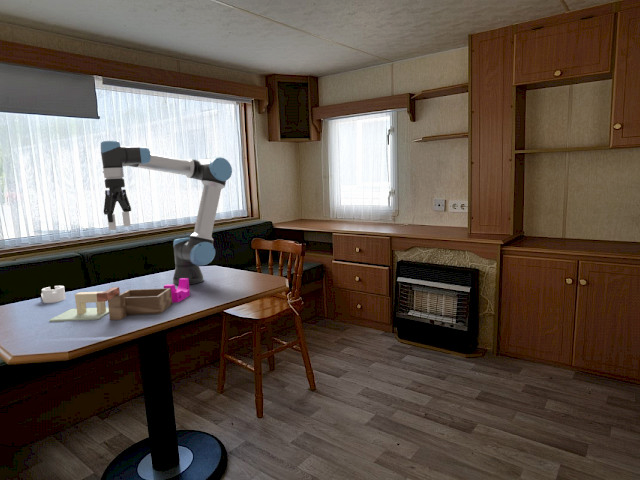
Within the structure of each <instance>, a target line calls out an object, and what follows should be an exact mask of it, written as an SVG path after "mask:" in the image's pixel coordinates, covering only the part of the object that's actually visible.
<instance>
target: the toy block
mask: <svg viewBox="0 0 640 480" xmlns="http://www.w3.org/2000/svg"><path fill="white" fill-rule="evenodd" d="M163 288H171V296H172V303H180V302H181V301H183V300H185V299H187V298H189V297H190V296H191V295H190V292H191V290H190V284H189V278H181V279H179V285H178V286H177V288H176V284H173V283H172V284H171V283H170V284H169V283H168V284H164V285H163ZM188 296H189V297H188ZM186 297H187V298H186Z"/></svg>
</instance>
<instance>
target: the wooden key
mask: <svg viewBox="0 0 640 480" xmlns="http://www.w3.org/2000/svg"><path fill="white" fill-rule="evenodd" d="M118 294H120V287H116V286H115V287H111V288H109V289H107V290H105V291H104V292H103V293H97V302H103V301H105V302H108V300H109V299H111V298H112V297H114V296H116V295H118Z"/></svg>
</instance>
